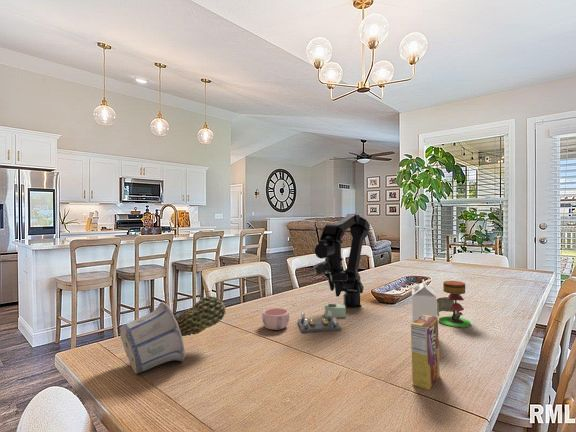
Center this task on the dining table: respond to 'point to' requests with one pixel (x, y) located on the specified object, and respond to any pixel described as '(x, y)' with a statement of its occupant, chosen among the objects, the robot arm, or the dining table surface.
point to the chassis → (318, 323)
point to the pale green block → (335, 310)
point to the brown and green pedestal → (452, 304)
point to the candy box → (425, 351)
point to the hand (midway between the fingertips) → (334, 293)
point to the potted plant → (167, 332)
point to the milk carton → (423, 301)
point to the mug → (275, 318)
